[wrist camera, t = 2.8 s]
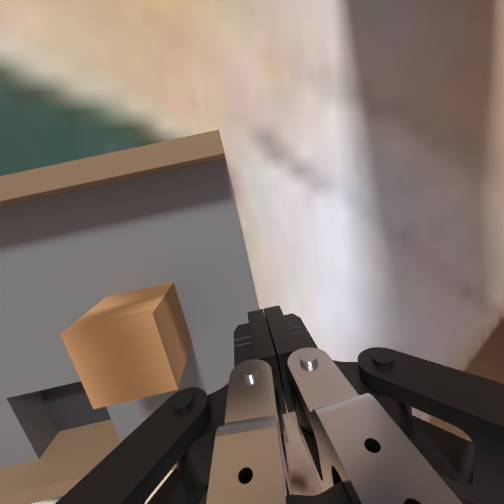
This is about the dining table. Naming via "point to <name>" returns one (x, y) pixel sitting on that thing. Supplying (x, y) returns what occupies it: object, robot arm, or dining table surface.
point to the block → (130, 345)
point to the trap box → (108, 293)
